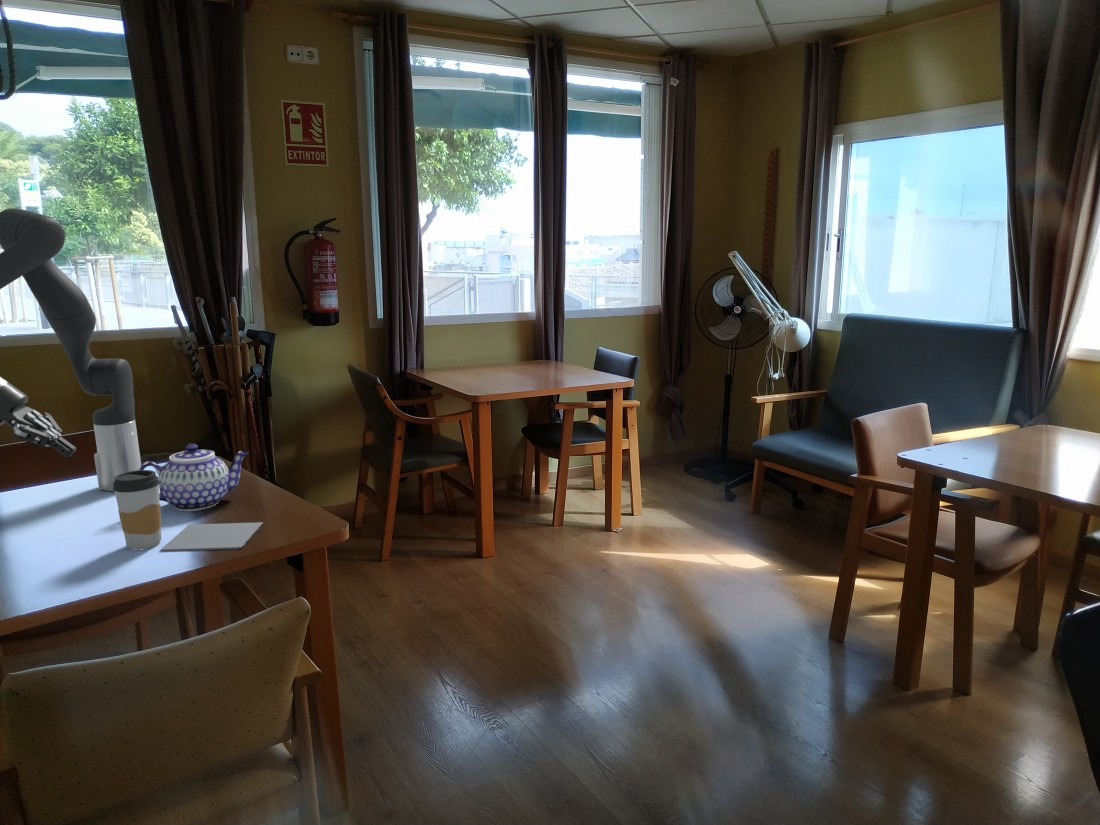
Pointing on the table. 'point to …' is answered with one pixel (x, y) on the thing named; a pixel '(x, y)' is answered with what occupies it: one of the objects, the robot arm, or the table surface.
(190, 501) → the teapot
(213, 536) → the mat
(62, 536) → the table surface
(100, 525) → the table surface
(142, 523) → the coffee cup
